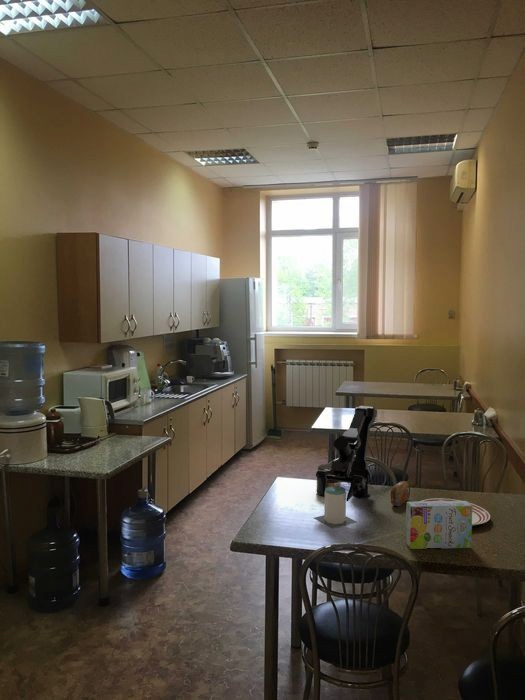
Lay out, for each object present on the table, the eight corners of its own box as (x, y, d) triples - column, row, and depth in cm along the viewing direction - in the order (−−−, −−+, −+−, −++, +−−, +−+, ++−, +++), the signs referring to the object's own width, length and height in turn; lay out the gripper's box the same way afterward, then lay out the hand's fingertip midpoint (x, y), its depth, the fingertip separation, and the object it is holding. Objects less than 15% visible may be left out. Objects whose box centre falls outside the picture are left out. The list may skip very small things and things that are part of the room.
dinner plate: (485, 509, 229) (486, 501, 229) (494, 535, 203) (494, 526, 202) (416, 502, 236) (416, 494, 236) (415, 527, 210) (415, 518, 210)
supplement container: (342, 498, 241) (342, 470, 240) (317, 498, 240) (318, 470, 240) (338, 490, 251) (339, 463, 250) (315, 490, 251) (315, 463, 250)
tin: (396, 509, 228) (396, 488, 228) (388, 507, 230) (389, 487, 229) (410, 499, 240) (411, 479, 239) (403, 497, 242) (404, 478, 241)
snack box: (465, 542, 197) (466, 500, 195) (471, 549, 191) (473, 505, 190) (405, 542, 196) (406, 500, 195) (409, 549, 190) (411, 506, 189)
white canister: (328, 515, 220) (329, 485, 219) (347, 518, 216) (348, 487, 215) (322, 521, 213) (322, 490, 212) (341, 525, 210) (341, 493, 209)
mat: (312, 519, 217) (313, 517, 217) (337, 513, 223) (337, 512, 223) (332, 529, 207) (332, 528, 207) (357, 523, 213) (357, 522, 213)
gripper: (317, 449, 222) (307, 485, 213) (363, 455, 213) (355, 492, 204) (324, 464, 229) (314, 499, 220) (369, 470, 221) (360, 506, 212)
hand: (335, 499), depth 214 cm, fingers open, 9 cm apart
